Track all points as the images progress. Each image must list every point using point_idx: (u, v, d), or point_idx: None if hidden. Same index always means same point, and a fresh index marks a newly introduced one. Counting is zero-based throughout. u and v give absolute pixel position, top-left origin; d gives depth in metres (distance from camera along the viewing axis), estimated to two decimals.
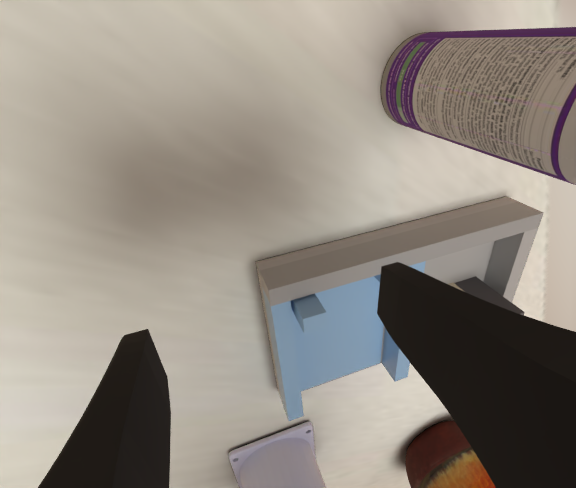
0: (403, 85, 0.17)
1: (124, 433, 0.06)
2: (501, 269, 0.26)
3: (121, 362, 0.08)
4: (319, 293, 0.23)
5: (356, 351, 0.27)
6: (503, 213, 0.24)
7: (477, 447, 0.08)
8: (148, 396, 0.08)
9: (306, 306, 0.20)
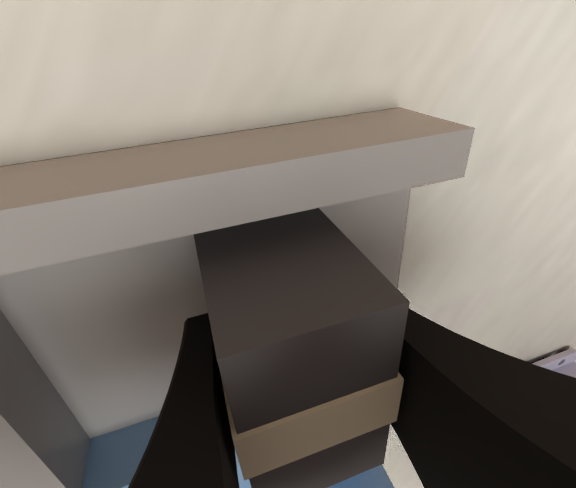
0: None
1: (214, 403, 0.06)
2: None
3: (193, 341, 0.08)
4: None
5: None
6: None
7: (420, 472, 0.08)
8: (218, 374, 0.08)
9: None
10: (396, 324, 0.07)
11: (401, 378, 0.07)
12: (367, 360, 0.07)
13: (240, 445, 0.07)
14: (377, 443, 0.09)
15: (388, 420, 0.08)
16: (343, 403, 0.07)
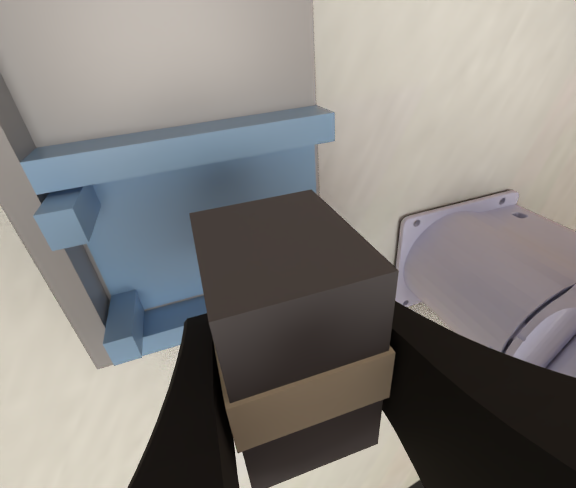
0: None
1: (214, 403, 0.06)
2: None
3: (193, 341, 0.08)
4: (139, 272, 0.17)
5: (269, 191, 0.17)
6: None
7: (421, 472, 0.08)
8: (218, 374, 0.08)
9: None
10: (386, 294, 0.07)
11: (392, 351, 0.08)
12: (358, 331, 0.07)
13: (233, 414, 0.07)
14: (370, 421, 0.09)
15: (380, 396, 0.08)
16: (335, 375, 0.07)
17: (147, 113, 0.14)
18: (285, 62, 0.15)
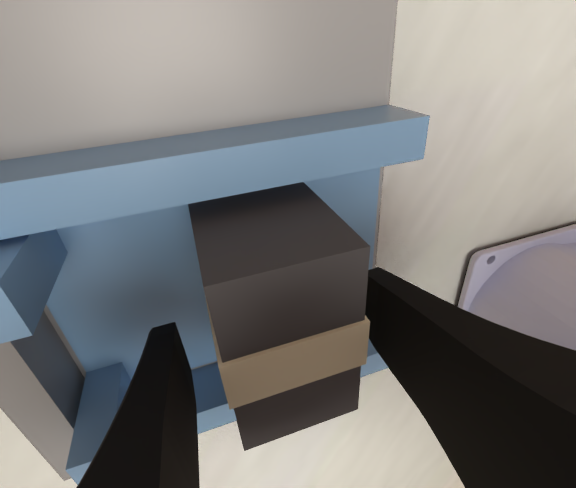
0: None
1: (165, 420, 0.06)
2: None
3: (153, 353, 0.08)
4: (127, 340, 0.12)
5: None
6: None
7: (453, 457, 0.08)
8: (179, 386, 0.08)
9: None
10: (360, 267, 0.08)
11: (367, 320, 0.08)
12: (335, 300, 0.08)
13: (225, 372, 0.08)
14: (350, 387, 0.10)
15: (358, 362, 0.09)
16: (315, 340, 0.08)
17: (139, 113, 0.09)
18: (352, 38, 0.10)
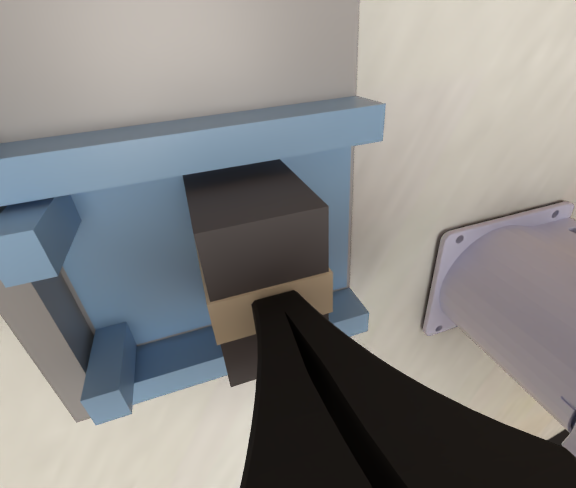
0: None
1: (307, 372, 0.07)
2: None
3: (269, 320, 0.09)
4: (131, 301, 0.14)
5: None
6: None
7: None
8: None
9: None
10: (321, 224, 0.09)
11: (331, 272, 0.10)
12: (302, 252, 0.10)
13: (212, 310, 0.10)
14: None
15: (325, 310, 0.11)
16: (287, 286, 0.10)
17: (142, 101, 0.11)
18: (321, 38, 0.11)
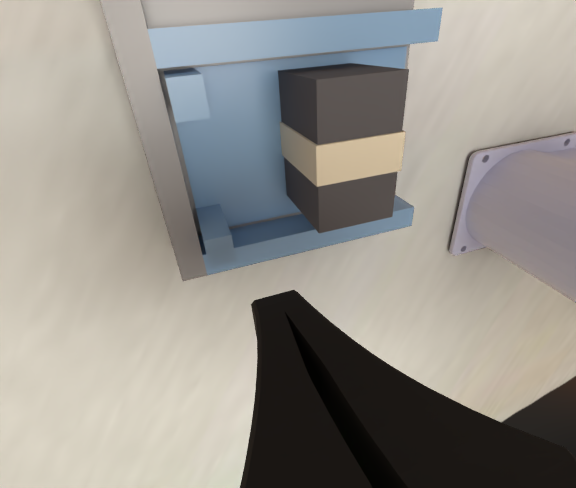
0: None
1: (307, 372, 0.07)
2: None
3: (269, 320, 0.09)
4: (226, 184, 0.17)
5: None
6: None
7: None
8: None
9: None
10: (401, 85, 0.13)
11: (404, 131, 0.13)
12: (386, 109, 0.13)
13: (318, 152, 0.13)
14: (388, 192, 0.15)
15: (396, 167, 0.14)
16: (372, 138, 0.13)
17: (256, 2, 0.14)
18: None
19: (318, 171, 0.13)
